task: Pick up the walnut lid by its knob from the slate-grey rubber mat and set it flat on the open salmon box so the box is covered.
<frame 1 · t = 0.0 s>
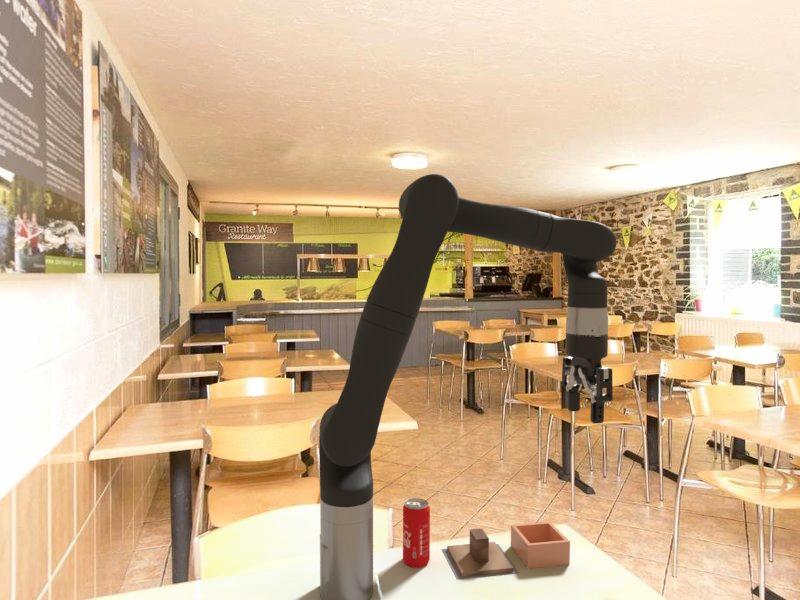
hand: (584, 416, 103), 29 cm above the table, fingers open, 8 cm apart
mat: (478, 563, 106), on the table
beverage can: (416, 564, 106), on the table
open salmon box: (539, 557, 108), on the table
lid: (478, 560, 106), point 1 cm above the table, touching mat
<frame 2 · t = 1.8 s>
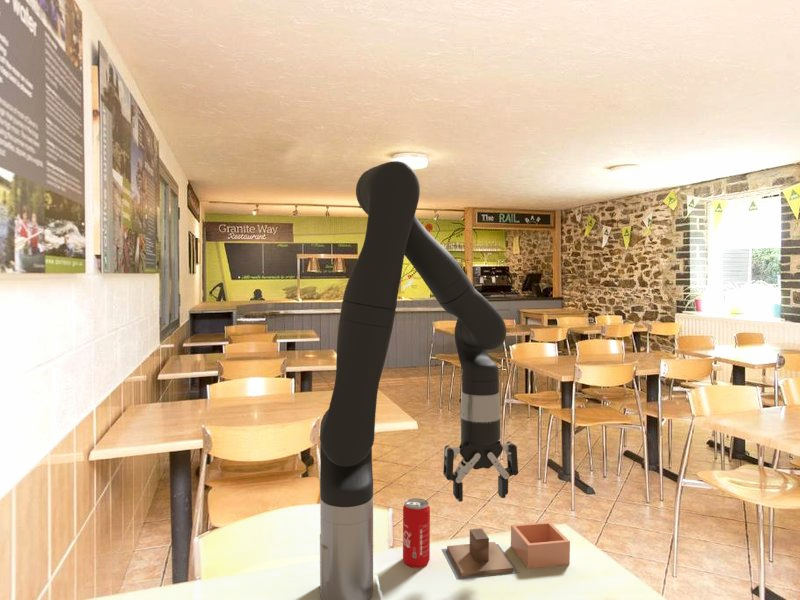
hand: (480, 498, 105), 13 cm above the table, fingers open, 8 cm apart
nothing on the table moved.
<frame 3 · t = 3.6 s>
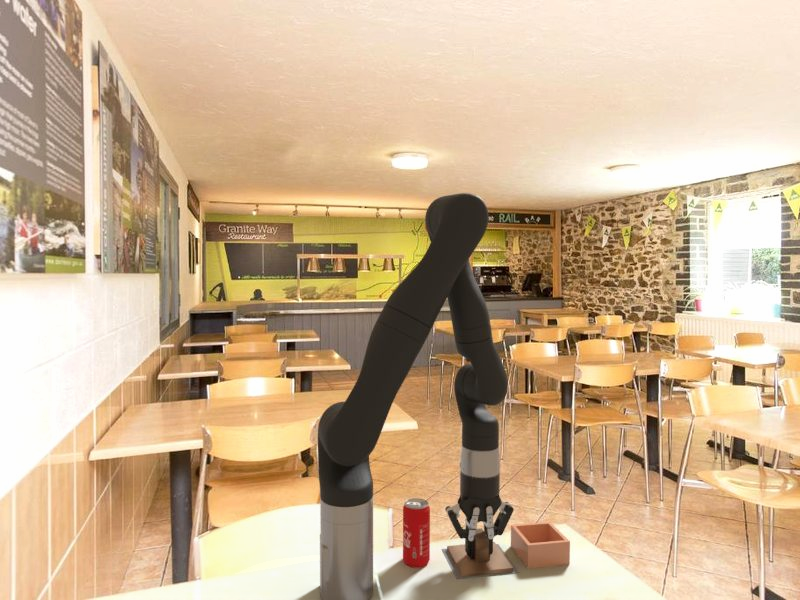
hand: (479, 556, 106), 1 cm above the table, fingers closed on lid, 2 cm apart
lid: (478, 560, 106), point 1 cm above the table, touching gripper, mat
everything else where it was.
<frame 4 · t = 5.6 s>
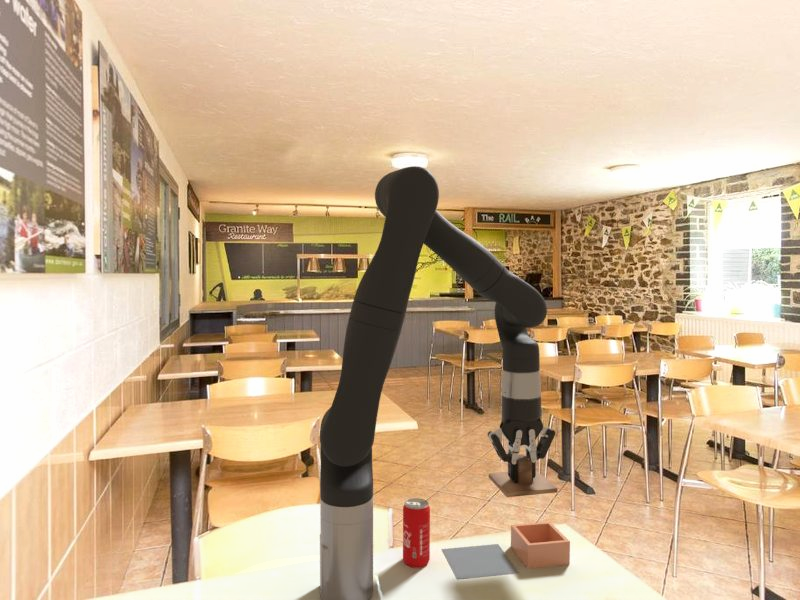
hand: (522, 480, 106), 16 cm above the table, fingers closed on lid, 2 cm apart
lid: (521, 484, 106), point 15 cm above the table, touching gripper
everything else where it was.
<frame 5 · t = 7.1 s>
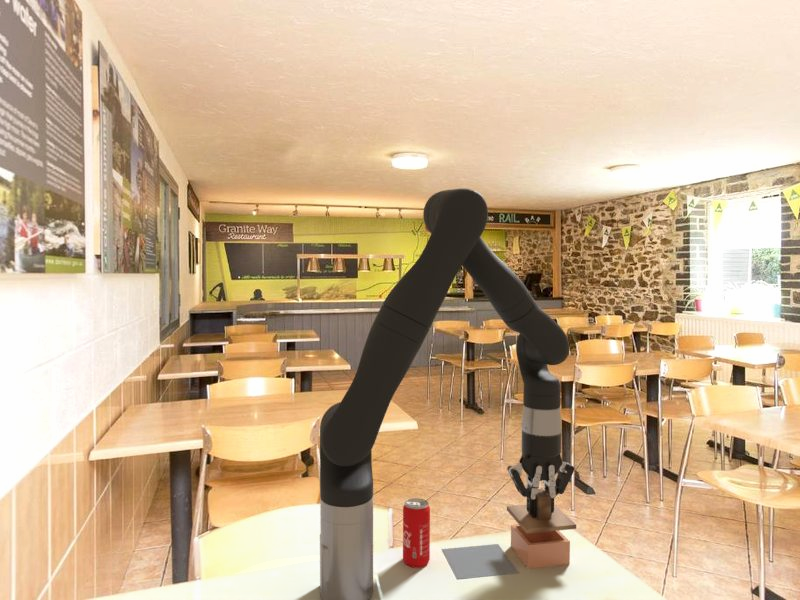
hand: (540, 514, 107), 9 cm above the table, fingers closed on lid, 2 cm apart
lid: (540, 519, 108), point 8 cm above the table, touching gripper
everything else where it was.
when the fingers open (7 cm above the table, at t = 8.0 s): lid drops 1 cm, resting on open salmon box.
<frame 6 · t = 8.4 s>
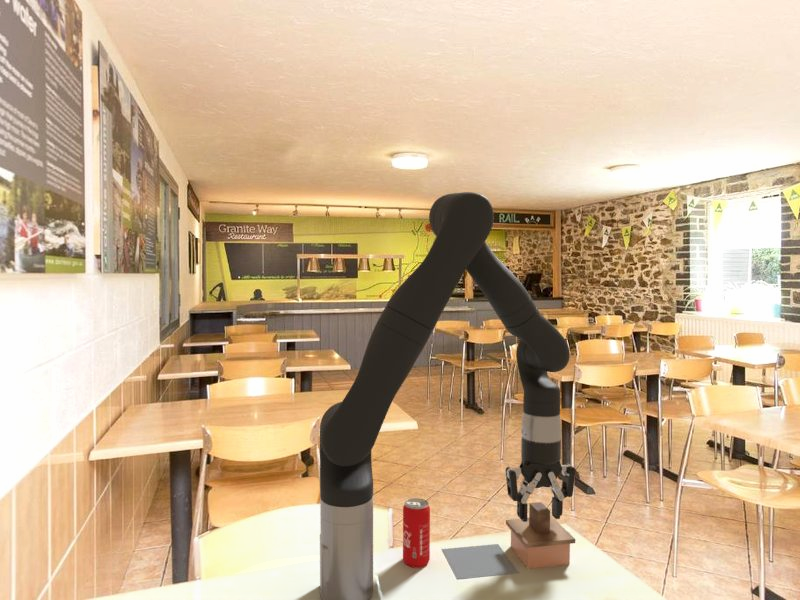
hand: (539, 518, 108), 8 cm above the table, fingers open, 6 cm apart
lid: (539, 533, 108), point 5 cm above the table, touching open salmon box
everything else where it was.
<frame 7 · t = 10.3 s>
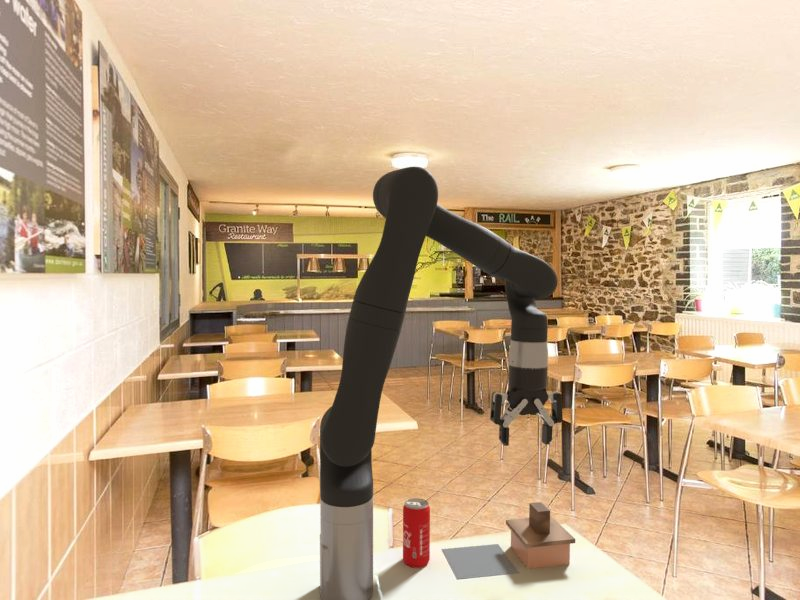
hand: (525, 444, 109), 22 cm above the table, fingers open, 8 cm apart
nothing on the table moved.
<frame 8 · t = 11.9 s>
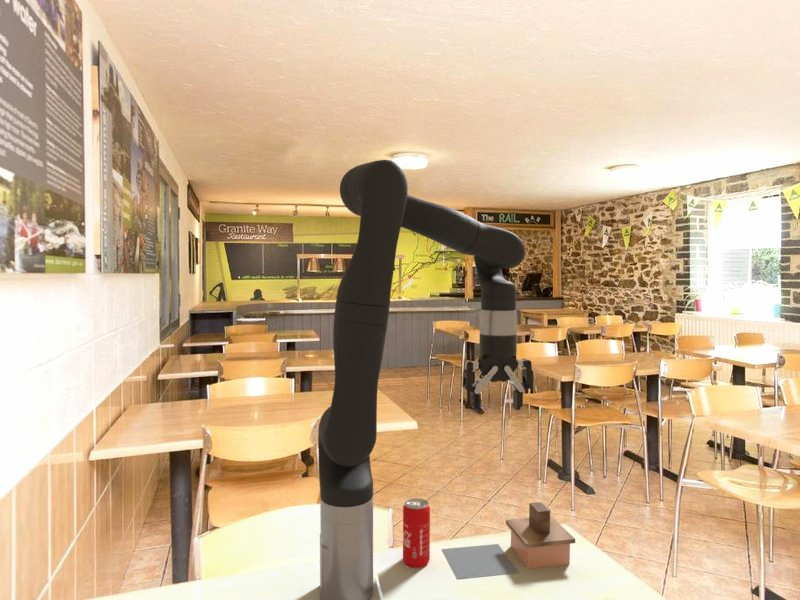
hand: (497, 410, 112), 28 cm above the table, fingers open, 8 cm apart
nothing on the table moved.
at the end: lid 0.1 cm off-centre on the open salmon box, point 5.0 cm above the open salmon box's base; lid tilted 0°; the gripper is holding nothing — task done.
